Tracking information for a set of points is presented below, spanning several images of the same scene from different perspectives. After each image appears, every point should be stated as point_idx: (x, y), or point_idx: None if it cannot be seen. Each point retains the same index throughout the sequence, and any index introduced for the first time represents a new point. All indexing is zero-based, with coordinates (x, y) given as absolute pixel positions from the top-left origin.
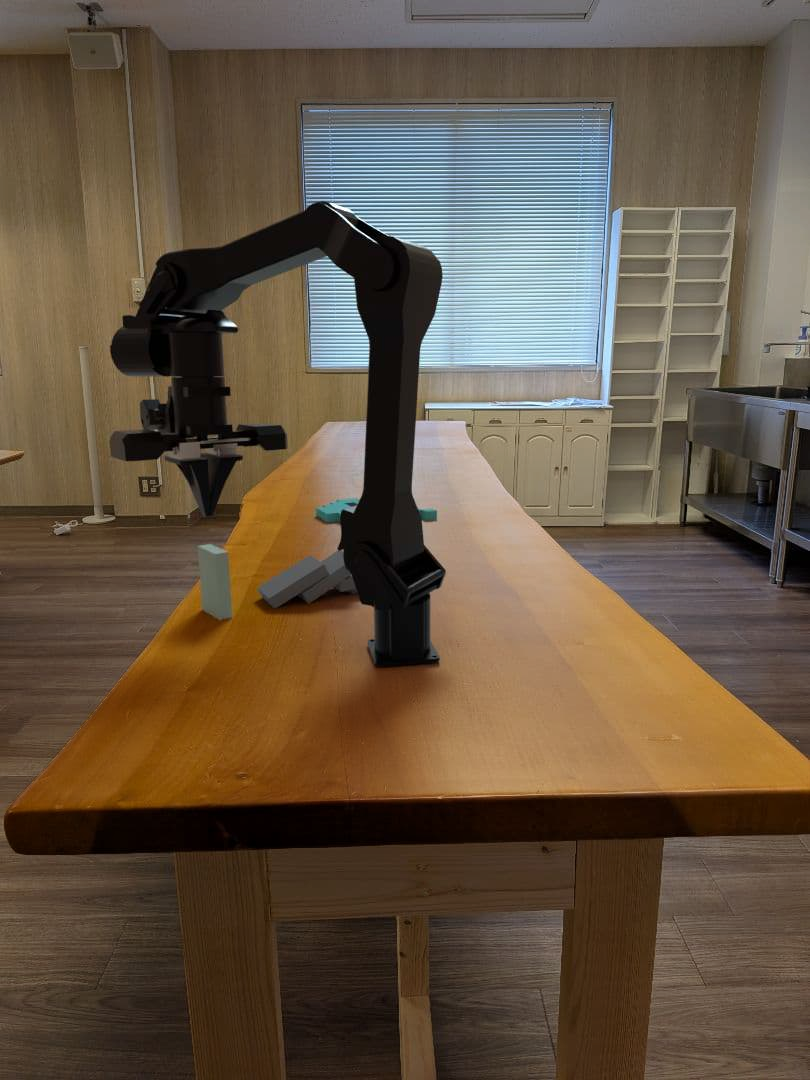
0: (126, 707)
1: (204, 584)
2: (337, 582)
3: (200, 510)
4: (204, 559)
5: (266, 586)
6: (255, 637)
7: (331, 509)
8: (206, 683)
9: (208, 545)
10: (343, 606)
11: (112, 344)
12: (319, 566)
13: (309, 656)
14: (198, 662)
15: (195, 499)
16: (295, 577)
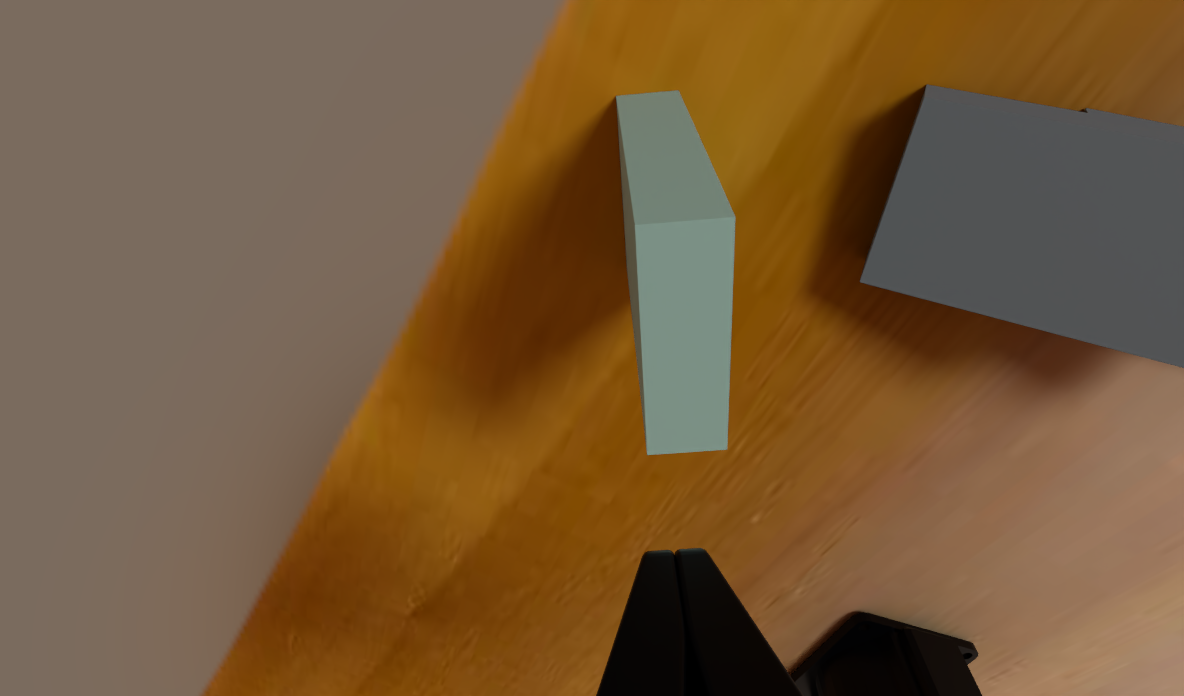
0: (287, 621)
1: (625, 195)
2: None
3: (633, 587)
4: (635, 283)
5: (945, 163)
6: (660, 456)
7: None
8: (454, 607)
9: (705, 251)
10: (1064, 365)
11: None
12: (1167, 361)
13: None
14: (463, 521)
15: (603, 674)
16: (1049, 286)
